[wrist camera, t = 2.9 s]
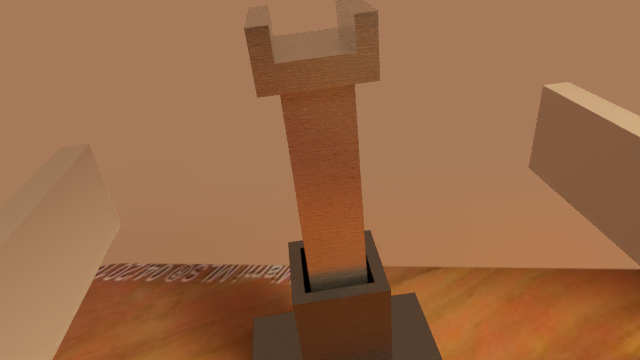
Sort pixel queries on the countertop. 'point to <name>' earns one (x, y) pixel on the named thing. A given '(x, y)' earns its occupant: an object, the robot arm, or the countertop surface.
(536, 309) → the countertop surface
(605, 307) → the countertop surface
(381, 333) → the stand
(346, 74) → the column
